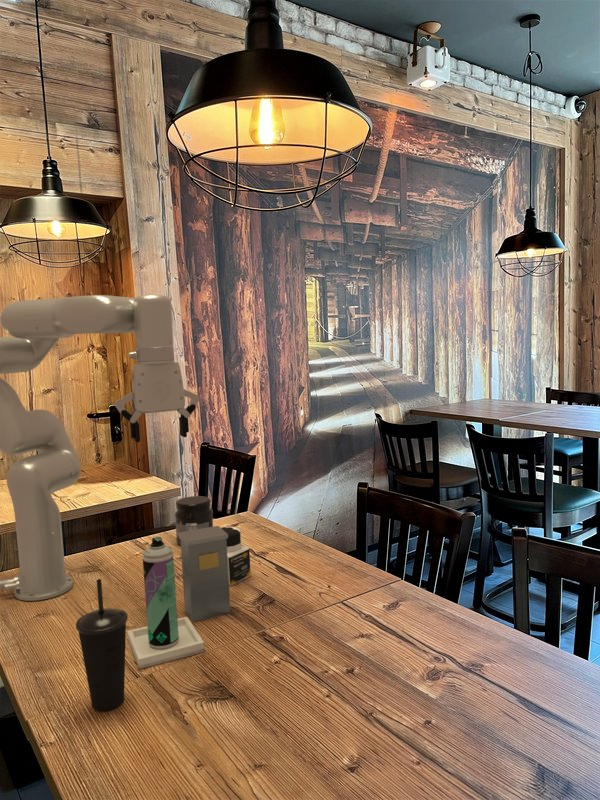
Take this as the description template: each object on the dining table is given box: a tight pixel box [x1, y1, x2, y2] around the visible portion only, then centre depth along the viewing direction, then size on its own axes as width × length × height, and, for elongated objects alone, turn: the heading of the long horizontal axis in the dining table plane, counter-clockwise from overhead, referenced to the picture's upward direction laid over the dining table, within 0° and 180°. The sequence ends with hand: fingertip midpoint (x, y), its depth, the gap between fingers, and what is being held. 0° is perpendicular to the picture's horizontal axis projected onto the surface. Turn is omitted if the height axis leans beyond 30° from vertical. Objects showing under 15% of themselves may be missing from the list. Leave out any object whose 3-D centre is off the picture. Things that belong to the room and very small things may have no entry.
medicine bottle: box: [220, 526, 252, 587], centre depth 140 cm, size 7×7×12 cm
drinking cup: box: [75, 578, 129, 712], centre depth 92 cm, size 8×8×20 cm
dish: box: [126, 616, 205, 670], centre depth 110 cm, size 12×12×2 cm
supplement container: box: [174, 495, 214, 546], centre depth 167 cm, size 10×10×12 cm
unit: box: [178, 525, 231, 623], centre depth 123 cm, size 9×7×17 cm
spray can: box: [142, 536, 179, 650], centre depth 109 cm, size 6×6×20 cm
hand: (160, 438), depth 123 cm, fingers open, 9 cm apart
